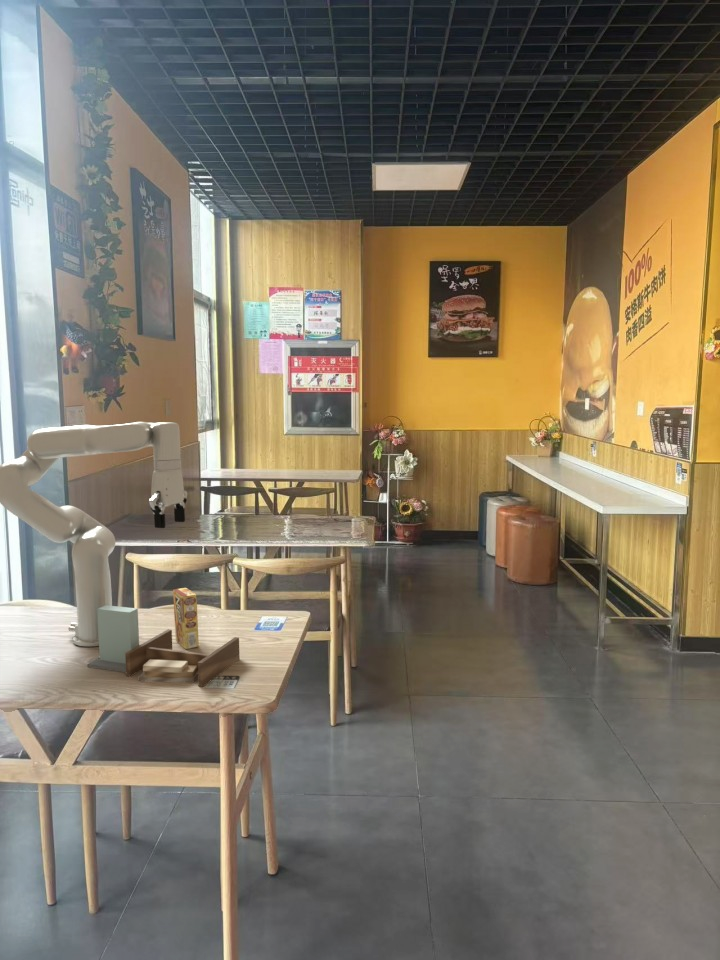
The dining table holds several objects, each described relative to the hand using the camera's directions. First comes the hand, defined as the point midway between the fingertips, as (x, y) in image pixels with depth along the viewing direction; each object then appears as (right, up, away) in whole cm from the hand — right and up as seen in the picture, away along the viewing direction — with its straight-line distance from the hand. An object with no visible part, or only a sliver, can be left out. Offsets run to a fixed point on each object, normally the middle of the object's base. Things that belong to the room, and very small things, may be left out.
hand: (170, 524), depth 207 cm
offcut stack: (+7, -37, -26) cm, 46 cm away
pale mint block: (-9, -35, -16) cm, 40 cm away
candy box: (+5, -34, -2) cm, 35 cm away
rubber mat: (-9, -36, -16) cm, 40 cm away
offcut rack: (+9, -36, -20) cm, 42 cm away
